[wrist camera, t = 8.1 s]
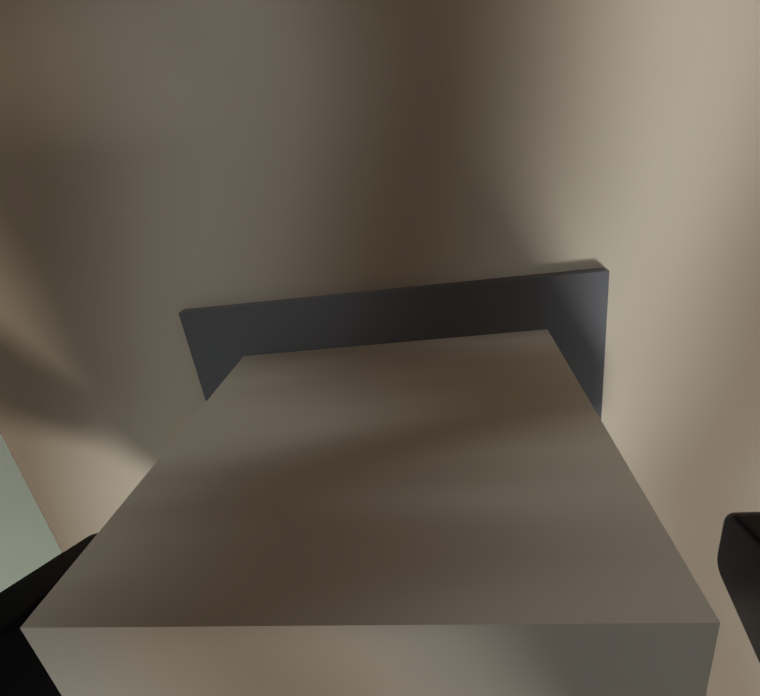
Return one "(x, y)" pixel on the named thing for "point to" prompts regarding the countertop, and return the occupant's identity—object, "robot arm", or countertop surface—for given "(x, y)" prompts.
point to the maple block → (384, 542)
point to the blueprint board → (383, 224)
